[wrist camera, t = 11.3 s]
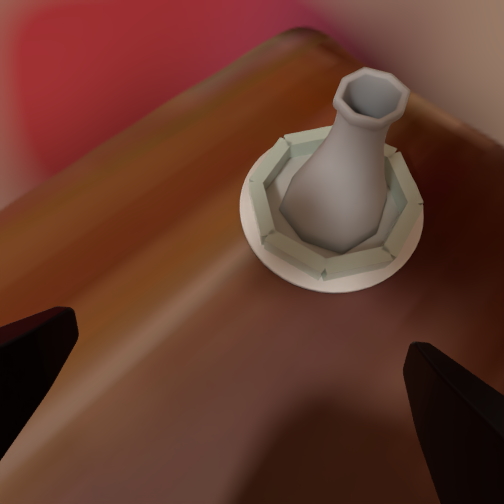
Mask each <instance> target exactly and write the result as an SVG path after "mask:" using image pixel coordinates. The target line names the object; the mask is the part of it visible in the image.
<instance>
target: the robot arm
mask: <svg viewBox="0 0 504 504" xmlns="http://www.w3.org/2000/svg"><path fill="white" fill-rule="evenodd" d="M78 336H79V332H78V326H77V321H76V316H75V312H74V310H73V309H72V308H70V307H61V306H57V307H53V308H51V309H48V310H45V311H43V312H40V313H37V314H34V315H32V316H29V317H26V318H24V319H21V320H18V321H16V322H13V323H10V324H7V325H5V326H2V327H0V461H1V459H2V458H3V456H4V455H5V453H6V452H7V450H8V449H9V448H10V446H11V445H12V443H13V442H14V440H15V439H16V438H17V436H18V435H19V433H20V432H21V430H22V429H23V427H24V426H25V425H26V423H27V422H28V420H29V419H30V417H31V416H32V415H33V413H34V412H35V410H36V409H37V407H38V406H39V405H40V403H41V402H42V400H43V399H44V397H45V396H46V394H47V393H48V391H49V390H50V388H51V386H52V385H53V383H54V381H55V379H56V378H57V376H58V374H59V372H60V371H61V369H62V367H63V365H64V363H65V362H66V360H67V358H68V356H69V355H70V353H71V351H72V349H73V347H74V346H75V344H76V342H77V340H78ZM403 376H404V381H405V385H406V389H407V394H408V398H409V403H410V407H411V411H412V416H413V420H414V425H415V428H416V432H417V436H418V439H419V442H420V445H421V448H422V451H423V454H424V457H425V460H426V463H427V465H428V468H429V471H430V474H431V477H432V480H433V483H434V486H435V489H436V492H437V494H438V497H439V500H440V503H441V504H504V395H502V394H501V393H499V392H498V391H497V390H495V389H494V388H492V387H491V386H489V385H488V384H487V383H485V382H484V381H482V380H481V379H480V378H478V377H477V376H475V375H474V374H472V373H471V372H470V371H468V370H467V369H465V368H464V367H463V366H461V365H460V364H458V363H457V362H455V361H454V360H453V359H451V358H450V357H448V356H447V355H446V354H444V353H443V352H441V351H440V350H438V349H437V348H436V347H434V346H433V345H431V344H430V343H425V342H412V343H411V344H410V346H409V349H408V353H407V356H406V360H405V363H404V367H403Z"/></svg>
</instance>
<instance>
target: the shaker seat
mask: <svg viewBox="0 0 504 504" xmlns="http://www.w3.org/2000/svg"><path fill="white" fill-rule="evenodd" d="M331 128H332V126H328V127H323V128H318V129H313V130H308V131H303V132H297V133H292V134H287V135H284V139H283V138H281V137H280V138H279V140H278V141H277V142H276V144H275V145H274V146H273V147H272V148H271V149H269V150H268V151H267V152H266V153H264V154H263V155H262V156H261V157H260V158H259V159H258V160H257V162H256V163H255V164H254V165H253V167H252V168H251V170H250V171H249V173H248V175H247V177H246V179H245V181H244V184H243V188H242V191H241V197H240V216H241V222H242V227H243V231H244V234H245V237H246V239H247V241H248V243H249V245H250V247H251V249H252V250H253V252H254V253H255V255H256V256H257V257H258V258H259V260H260V261H261V262H262V263H263V264H264V265H265V266H266V267H267V268H268V269H269V270H271V271H272V272H273V273H274V274H276V275H277V276H279V277H280V278H282V279H283V280H285V281H287V282H289V283H291V284H293V285H295V286H298V287H301V288H303V289H306V290H311V291H315V292H320V293H330V294H339V293H350V292H357V291H360V290H364V289H367V288H370V287H372V286H375V285H377V284H379V283H381V282H383V281H384V280H386V279H387V278H389V277H390V276H392V275H393V274H394V273H395V272H396V271H398V270H399V269H400V268H401V267H402V266H403V265H404V264H405V263H406V262H407V260H408V259H409V258H410V257H411V255H412V253H413V252H414V250H415V249H416V247H417V244H418V242H419V239H420V237H421V232H422V228H423V218H424V215H423V203H424V202H423V200H422V197H421V195H420V193H419V190H418V188H417V185H416V183H415V182H414V180H413V178H412V176H411V174H410V172H409V169H408V167H407V165H406V163H405V161H404V159H403V156H402V154H401V152H397V153H395V152H396V150H397V148H394V147H392V146H390V145H388V144H384V172H385V182H386V191H387V201H386V204H385V207H384V211H383V214H382V218H381V221H380V224H379V228H378V231H377V234H375V235H374V236H372V237H370V238H369V239H367V240H366V241H364V242H362V243H361V244H359V245H357V246H356V247H354V248H352V249H351V250H349V251H348V252H346V253H344V254H343V255H342V254H339V253H337V252H334V251H331V250H328V249H325V248H322V247H319V246H316V245H313V244H310V243H307V242H304V241H302V240H301V239H300V238H299V236H298V235H297V234H296V232H295V231H294V229H293V228H292V227H291V225H290V224H289V223H288V221H287V220H286V219H285V217H284V216H283V214H282V213H281V212H280V210H279V207H280V205H281V203H282V200H283V198H284V196H285V193H286V191H287V188H288V186H289V184H290V181H291V179H292V177H293V176H294V174H295V173H296V172H297V171H298V170H299V169H300V168H301V167H302V165H303V164H304V163H305V162H306V161H307V160H308V159H309V158H310V157H311V156H312V154H313V153H314V152H315V151H316V149H317V148H318V147H319V146H320V144H321V143H322V142H323V141H324V140H325V138H326V137H327V136H328V134H329V132H330V130H331Z"/></svg>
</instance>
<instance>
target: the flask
mask: <svg viewBox="0 0 504 504" xmlns="http://www.w3.org/2000/svg"><path fill="white" fill-rule="evenodd" d="M409 95H410V90H409V89H408V88H407V87H406V86H405V85H404V84H403V83H402V82H401V81H400V80H399V79H397V78H396V77H395V76H394V75H393V74H392V73H388V72H384V71H380V70H376V69H372V68H368V67H363V68H361V69H359V70H357V71H355V72H353V73H351V74H349V75H347V76H345V77H343V78H342V80H341V82H340V85H339V87H338V90H337V92H336V95H335V97H334V100H333V106H334V108H335V109H336V110H337V115H336V119H335V122H334V124H333V126H332V128H331V130H330V132H329V134H328V136H327V137H326V138H325V140H324V141H323V142H322V143H321V144H320V146H319V147H318V148H317V149H316V151H315V152H314V153H313V154H312V156H311V157H310V158H309V159H308V160H307V161H306V162H305V163H304V164H303V165H302V167H301V168H300V169H299V170H298V171H297V172H296V173H295V174H294V176H293V177H292V179H291V181H290V184H289V186H288V188H287V191H286V193H285V196H284V198H283V200H282V203H281V205H280V207H279V210H280V212H281V213H282V214H283V216H284V217H285V219H286V220H287V221H288V223H289V224H290V225H291V227H292V228H293V229H294V231H295V232H296V234H297V235H298V236H299V238H300V239H301V240H302V241H304V242H307V243H310V244H313V245H316V246H319V247H322V248H325V249H328V250H331V251H334V252H337V253H339V254H342V255H343V254H344V253H346V252H348V251H349V250H351V249H352V248H354V247H356V246H357V245H359V244H361V243H362V242H364V241H366V240H367V239H369V238H370V237H372V236H374V235H375V234H377V231H378V228H379V224H380V221H381V218H382V214H383V211H384V207H385V204H386V201H387V191H386V182H385V172H384V144H385V139H386V135H387V132H388V130H389V127H390V125H391V124H392V123H393V122H395V121H397V120H399V119H400V118H401V117H402V116H403V114H404V111H405V108H406V104H407V101H408V98H409Z"/></svg>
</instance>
